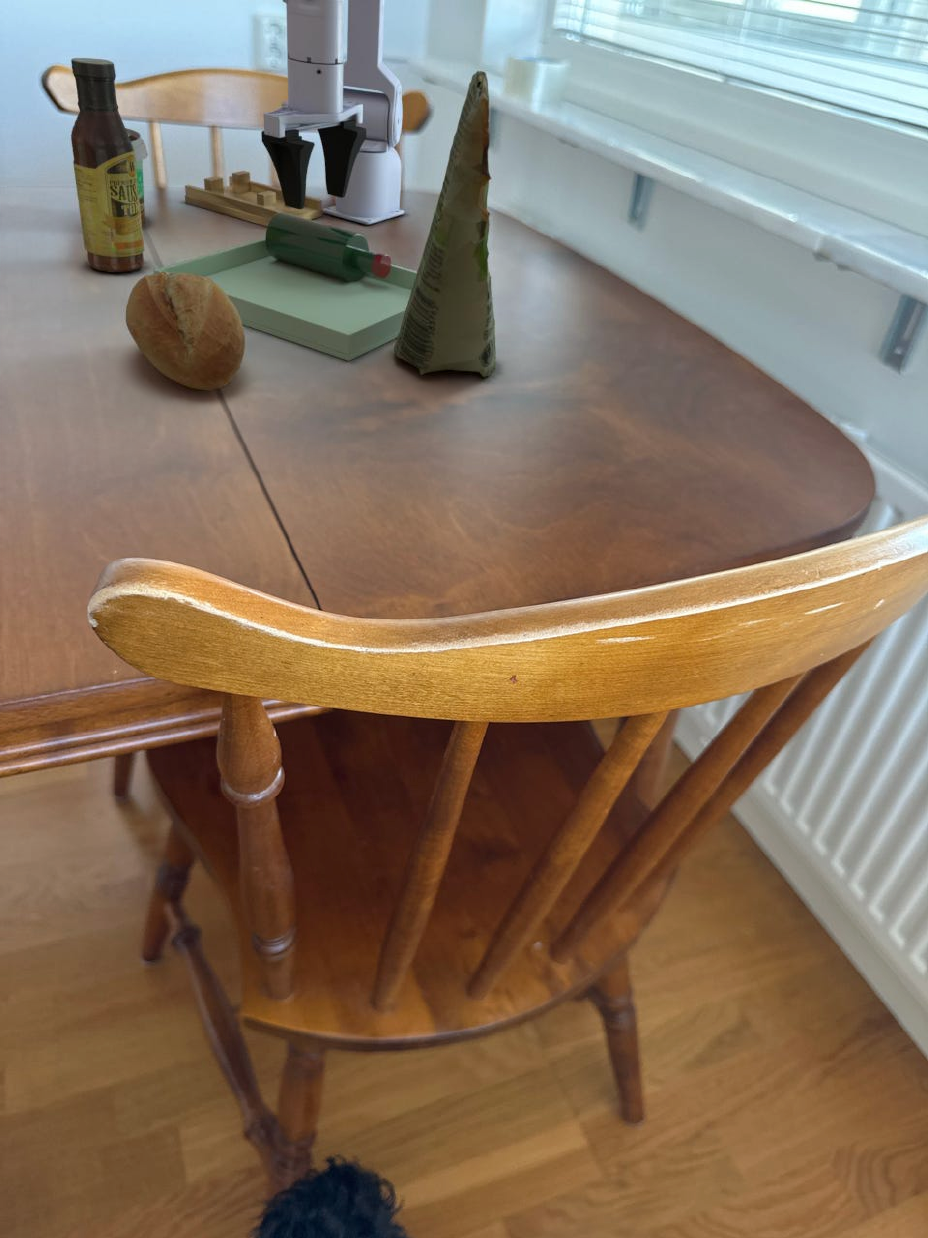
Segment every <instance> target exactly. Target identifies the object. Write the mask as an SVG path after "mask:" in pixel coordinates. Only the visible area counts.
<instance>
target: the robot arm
mask: <svg viewBox="0 0 928 1238" xmlns="http://www.w3.org/2000/svg"><path fill="white" fill-rule="evenodd" d="M282 2H283V3H285V4H286V49H287V53H286V55H287V56H286V59H287V62H286V64H287V101H282V102H281V107H279V108H277V109H275V110H272V111H268V112H263V130H261V133H260V134H261V135H260V136H261V143H262V144H263V146H264V148H265V149H266V151H267V153H268V155H269V157H270V160H271V162H272V164H273V167H274V168H275V171H276V176H277V179H278V182H279V186H280V189H281V190H282V194H283V198H284V202H285V206H289V207H292V208H296V209H303V208H304V203H305V196H307V195H306V193H307V178H308V170H309V165H310V160H311V157H312V153H313V151H314V148H315V145H316V144H315V142H314V141H310V140H307V139H306V140H305V139H303V136H302V135H300V133H302V132H308V131H314V130H317V133H318V136H319V139H320V143H321V147H322V154H323V161H324V162H323V163H324V174H325V175H324V179H325V187H326V188H325V189H326V193H327V195H329V196H333V197H335V205H332V206H329V207H325V208H322V214H326V215H331V216H334V217H337V218H342V219H345V220H348V221H351V222H356V223H359V224H363V225H369V226H370V225H373V224H376V223H379V222H383V221H385V220H390V219H392V218H396V217H399V216H401V215H404V214H405V210H404V209H401V207H400V206H401V189H402V188H401V187H402V171H403V169H402V167H403V166H402V161H401V158H400V155H399V153H398V151H397V150H396V148H395V147H396V146H397V145H398V143H399V142H400V141H401V136H402V128H403V115H404V113H403V112H404V108H403V107H404V106H403V86H402V84H401V81H400V79H399V78H398V77H397V76H396V75H395V74H394V73H393V72H392V71H391V69H389V68H388V66H387V65H386V64H385V63H384V62H383V56H384V55H383V54H384V53H383V52H384V51H383V50H384V31H385V30H384V28H385V27H384V26H385V5H386V4H385V0H347V39H346V40H347V41H346V43H347V44H346V60H345V61H344V57H345V54H344V53H345V52H344V51H345V0H282ZM355 88H358V89H355ZM371 90H372V91H371Z"/></svg>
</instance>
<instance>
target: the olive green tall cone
mask: <svg viewBox="0 0 928 1238" xmlns="http://www.w3.org/2000/svg"><path fill="white" fill-rule="evenodd" d="M457 123H458V124H457V127H456V128H457V129H456V131H455V134H454V136H453V139H452V144H451V147H450V150H449V156H448V161H447V166H446V169H445V174H444V178H443V181H442V186H441V189H440V192H439V196H438V200H437V203H436V205H435V210H434V214H433V219H432V222H431V225H430V230H429V233H428V237H427V240H426V242H425V245H424V249H423V254H422V256H421V260H420V263H419V265H418V268H417V275H416V278H415V281H414V284H413V288H412V291H411V294H410V297H409V301H408V304H407V307H406V310H405V313H404V317H403V321H402V325H401V329H400V332H399V334H398V337H397V338H396V342H395V344H394V347H393V352H394V355H395V356H396V357H397V358H399V359H402V360H403V361H405V362H407V363H408V364H410V365H412V366H414V367H415V368H417V369H418V370H419V373H420V376H421V375H425V374H427V373H431V372H439V371H447V370H449V371H450V370H451V371H463V372H464V371H465V372H477V373H479V374H480V375H481V376H482V377H483V378H486V377H488V376H489V377H490V376H491V375H492V372H494V370H495V369H496V365H497V364H496V363H497V361H496V359H497V351H496V330H495V329H496V320H495V314H494V305H493V304H494V303H493V302H494V301H493V291H492V276H491V273H490V270H489V262H488V261H489V256H490V252H489V248H488V247H489V246H488V243H489V234H490V225H491V224H490V223H491V222H490V215H491V213H490V211H489V210H488V195H489V190H490V189H489V188H490V180H492V176H491V175H490V167H489V166H490V165H489V149H490V139H491V134H490V96H489V82H488V77H487V73H486V72H485V71H484V70H483V71H482V70H477V71H476V72H475V73H474V74H472V76H471V80H470V82H469V83H468V89H467V92H466V97H465V100H464V102H463V106H462V108H461V113H460V116H459V119H458V122H457Z"/></svg>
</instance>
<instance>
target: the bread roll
mask: <svg viewBox="0 0 928 1238" xmlns="http://www.w3.org/2000/svg"><path fill="white" fill-rule="evenodd" d="M125 308H126V309H125V324H126V327H127V330H128V332H129V335H131V337H132V339H133V341H134V342H135V344H136V345H137V347H138V349H139V350H140V352H141V353H142V355H144V357H145V358H146V359H147V360H148V361H149V362H150V364H151V365H152V366H153V367H154V368H155V369H156V370H157V371H158V372H160V373H161V374H162V375H163V376H165V377H167V378H169V379H170V380H172V381H174V382H175V383H177V384H179V385H180V384H181V385H183V386H185V387H187V388H189V389H194V390H195V389H196V390H202V391H211V390H218V389H220V388H224V387H225V386H226V385H228V384H230V382H231V381H232V380H233V378H234V377H235V376H236V374H237V373H238V370H239V369H240V367H241V364H242V361H243V358H244V354H245V348H246V335H245V329H244V325H243V324H242V321H241V319H240V316H239V314H238V311H237V309H236V308H235V306H234V305H233V303H232V302H231V300H230V299H229V297H228V296H227V294H226V293H225V292H224V291H223V290H222V289H221V288H220V287H219V286H218V285H217V284H216V283H215V282H213V281H212V280H211V279H210V278H207V277H202V276H198V275H194V274H188V273H170V274H169V275H167V274H166V272H164V271H163V272H160V273H157V274H154V273H153V274H151V275H144V276H143V277H142V278H140V279H139V280H138V281H137V282H136V283H135V285H133V287H132V289H131V292H130V294H129V296H128V299H127V303H126V307H125Z"/></svg>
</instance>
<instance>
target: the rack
mask: <svg viewBox="0 0 928 1238" xmlns="http://www.w3.org/2000/svg"><path fill="white" fill-rule="evenodd" d="M228 179H229V180H228V181H229V185H226V186H224V178H223V177H221V176H217V175H215V176H211V177H210V176H209V177H206V178H203V185H204V186H203V187H204V188H202V187H199V186H196V185H192V184H185V185H184V190H185V192H184V193H185V194H184V203H185V204H188V205H192V206H196V207H199V208H202V209H204V210H205V209H206V210H209V211H212V212H215V213H219V214H223V215H226V216H229V217H232V218H237V219H239V220H243V221H247V222H250V223H254V224H257V225H260V226H263V227H267V226H268V224H269V222H270V220H271V219H272V217H273V216H274V215H276V214H277V213H280V212H284V213H287V214H291V215H294V216H298V217H302V218H305V219H309V220H314V219H318V218H322V217H323V208H322V205H323V203H322V202H323V201H322V199H319V198H315V197H312V196H308V195H305V203H304V208H303V209H296V208H292V207H289V206H285V202H284V198H283V194H282V190H281V188H279V187H275V186H272V185H268V184H264V183H261V182H257V181H253V180H251V173H250V171H246V170H241V171H236V172H232V173H231V175H230V176H229V177H228Z"/></svg>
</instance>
